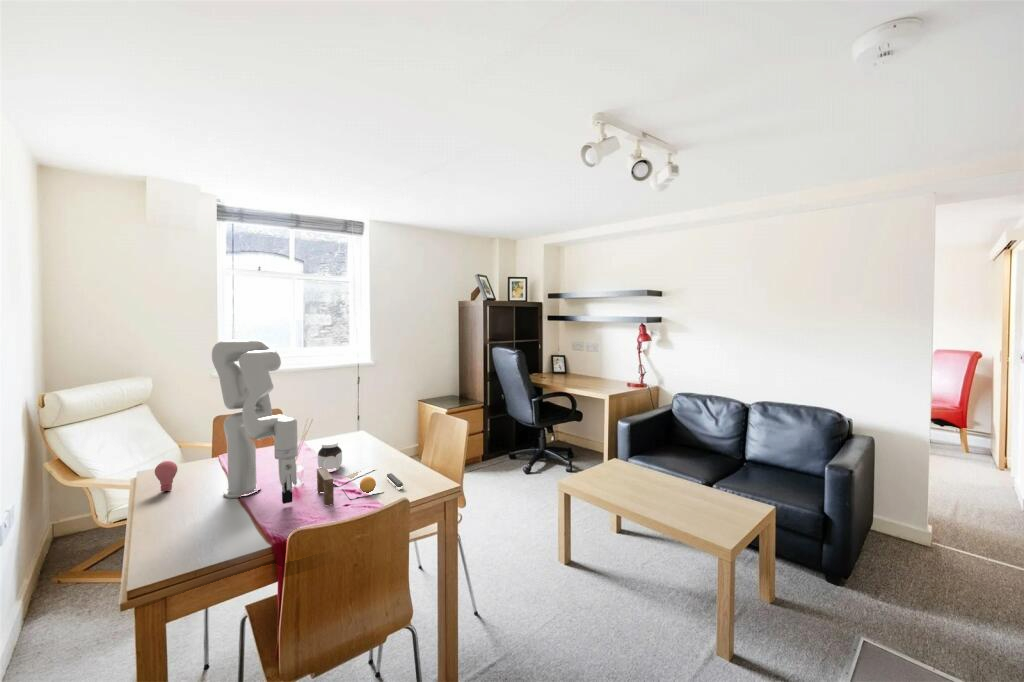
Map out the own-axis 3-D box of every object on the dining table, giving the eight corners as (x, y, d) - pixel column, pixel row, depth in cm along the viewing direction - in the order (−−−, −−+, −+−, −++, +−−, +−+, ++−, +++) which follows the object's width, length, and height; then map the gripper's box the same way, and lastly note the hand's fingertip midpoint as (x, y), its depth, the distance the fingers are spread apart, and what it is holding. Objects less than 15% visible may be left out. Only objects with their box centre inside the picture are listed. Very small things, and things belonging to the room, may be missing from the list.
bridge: (325, 506, 164) (324, 480, 163) (317, 492, 176) (317, 468, 176) (333, 504, 165) (333, 478, 165) (325, 491, 178) (325, 467, 177)
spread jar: (333, 463, 212) (332, 439, 211) (350, 467, 207) (350, 442, 206) (311, 471, 201) (311, 445, 201) (329, 475, 196) (328, 449, 196)
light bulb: (173, 486, 182) (172, 457, 181) (181, 490, 178) (180, 460, 178) (152, 492, 176) (151, 462, 175) (160, 496, 172) (159, 465, 172)
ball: (377, 481, 182) (366, 493, 180) (366, 472, 180) (355, 483, 178) (380, 485, 176) (368, 497, 174) (369, 475, 174) (357, 488, 173)
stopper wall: (387, 479, 191) (386, 474, 191) (391, 478, 192) (391, 473, 192) (398, 490, 179) (398, 484, 179) (402, 489, 180) (402, 483, 180)
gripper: (300, 456, 158) (301, 507, 159) (294, 446, 171) (295, 493, 172) (276, 459, 154) (278, 512, 155) (272, 449, 167) (273, 497, 168)
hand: (287, 502), depth 164 cm, fingers closed
